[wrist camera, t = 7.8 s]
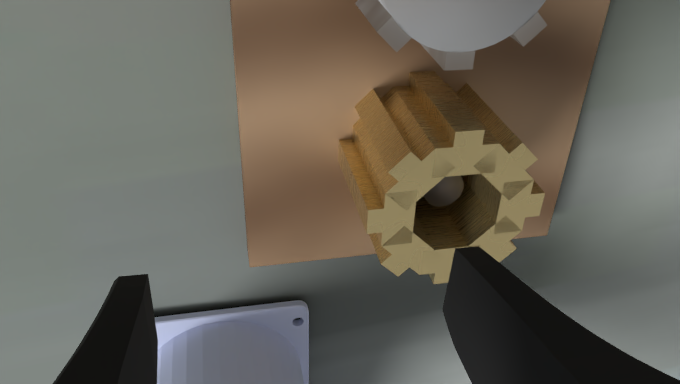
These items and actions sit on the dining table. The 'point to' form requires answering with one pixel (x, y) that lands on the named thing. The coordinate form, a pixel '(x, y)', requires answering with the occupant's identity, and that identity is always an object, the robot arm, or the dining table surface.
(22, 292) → the dining table surface
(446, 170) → the brass gear
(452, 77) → the gear board
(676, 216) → the dining table surface
